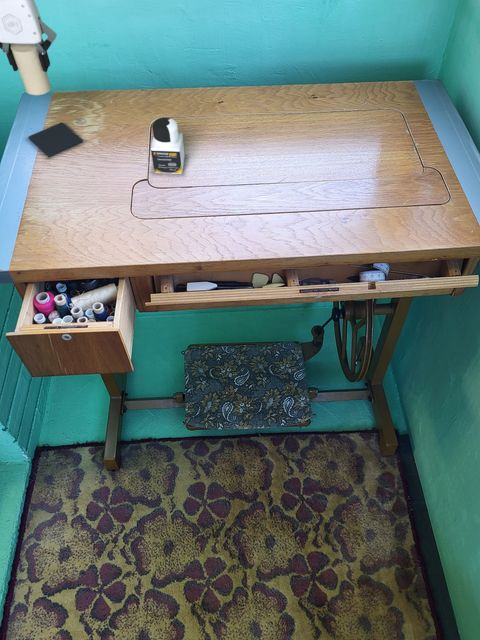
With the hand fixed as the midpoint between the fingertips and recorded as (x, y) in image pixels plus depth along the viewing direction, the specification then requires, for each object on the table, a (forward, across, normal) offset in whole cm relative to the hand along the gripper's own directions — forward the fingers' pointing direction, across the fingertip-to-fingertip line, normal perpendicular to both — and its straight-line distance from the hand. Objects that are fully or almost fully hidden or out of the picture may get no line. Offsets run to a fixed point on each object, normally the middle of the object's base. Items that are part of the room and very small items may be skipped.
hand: (31, 67), depth 122 cm
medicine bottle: (+20, +31, -9) cm, 38 cm away
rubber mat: (+19, 0, 0) cm, 19 cm away
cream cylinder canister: (+5, 0, 0) cm, 5 cm away
